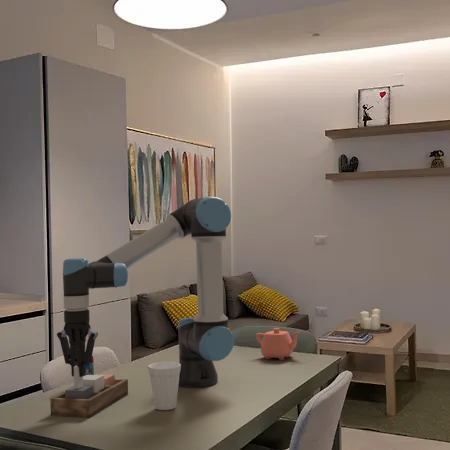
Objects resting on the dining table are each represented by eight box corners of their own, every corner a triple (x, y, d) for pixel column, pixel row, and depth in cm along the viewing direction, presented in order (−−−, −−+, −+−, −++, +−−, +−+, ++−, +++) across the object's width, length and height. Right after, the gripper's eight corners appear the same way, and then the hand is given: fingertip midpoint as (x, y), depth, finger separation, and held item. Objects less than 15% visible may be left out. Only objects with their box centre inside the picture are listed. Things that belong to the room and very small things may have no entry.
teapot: (297, 362, 245) (296, 332, 245) (250, 359, 253) (249, 330, 253) (307, 356, 257) (306, 326, 257) (262, 353, 265) (261, 325, 265)
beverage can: (89, 390, 211) (88, 355, 211) (71, 389, 213) (70, 355, 213) (97, 385, 218) (96, 351, 218) (79, 384, 219) (78, 351, 219)
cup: (169, 414, 180) (167, 370, 180) (142, 410, 185) (141, 367, 185) (188, 406, 188) (187, 363, 188) (162, 402, 193) (161, 360, 194)
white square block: (104, 387, 195) (103, 375, 196) (95, 392, 190) (94, 379, 190) (87, 387, 197) (86, 374, 197) (77, 392, 191) (77, 379, 191)
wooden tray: (128, 394, 204) (127, 379, 204) (90, 417, 179) (89, 400, 179) (92, 392, 208) (92, 377, 208) (50, 415, 183) (50, 398, 183)
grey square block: (93, 398, 188) (92, 385, 188) (83, 404, 182) (82, 390, 183) (75, 398, 190) (75, 385, 190) (65, 403, 184) (64, 390, 184)
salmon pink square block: (115, 386, 203) (114, 374, 203) (106, 391, 197) (106, 378, 197) (98, 386, 204) (98, 373, 204) (89, 390, 199) (89, 378, 199)
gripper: (101, 307, 188) (103, 385, 188) (64, 307, 192) (66, 383, 192) (89, 311, 181) (92, 391, 181) (50, 310, 185) (52, 389, 184)
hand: (78, 387), depth 186 cm, fingers closed
